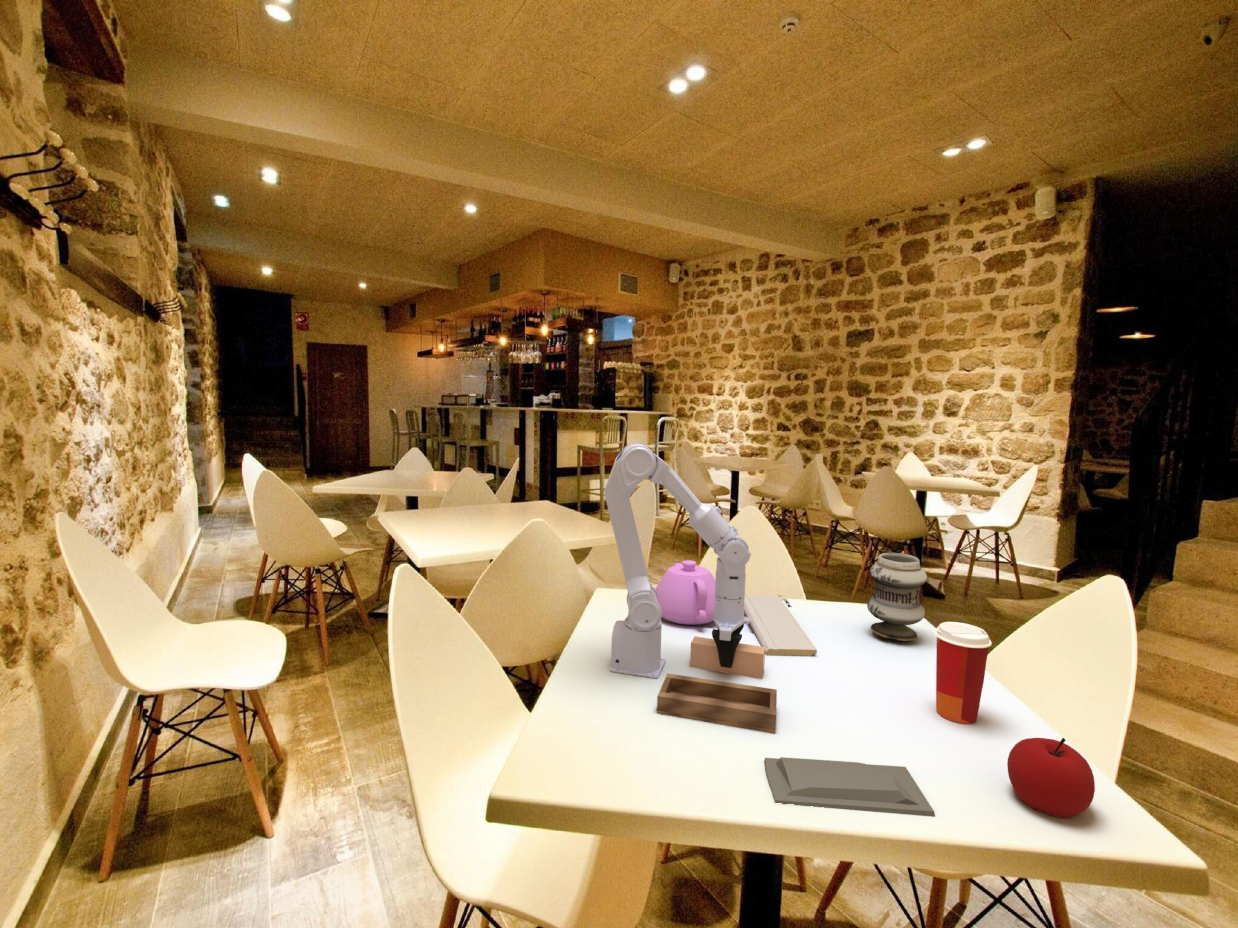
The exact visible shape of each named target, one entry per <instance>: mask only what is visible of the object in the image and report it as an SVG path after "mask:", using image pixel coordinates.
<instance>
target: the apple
mask: <svg viewBox="0 0 1238 928" xmlns="http://www.w3.org/2000/svg"><path fill="white" fill-rule="evenodd" d="M1065 742H1066V739H1065V737H1062V738H1061V739H1060V740H1057V739H1054V738H1053V739H1052V738H1045V737H1029V738H1024V739H1022V740H1020V741H1018V742H1017V743H1015V744H1014V745H1013V747H1012V749H1011V750H1010V752H1009V753H1008V758H1007V766H1006V767H1007V774H1008V778H1009V782H1010V784H1011V787H1012V788H1013V791H1014V792H1015V794H1016V795H1017V797H1019V799H1020V800H1021V801H1022V802H1023V803H1024V804H1026V805H1027V806H1028V807H1029V808H1031V809H1033V810H1035V811H1036V812H1040V813H1042V814H1046V815H1049V816H1051V817H1056V818H1060V819H1071V818H1074V817H1076V816H1077V815H1080V814H1082V813H1084V812H1086V810H1087V809H1089V808H1090V806H1091V804H1092V802H1093V799H1094V797H1095V791H1096V786H1095V783H1096V782H1095V776H1094V773H1093V769H1092V768H1091V766H1090V764H1089V762H1088V761H1087V759H1086V758H1085V757H1084V756H1082V754H1081V753H1080V752H1079V751H1077V750H1076V749H1075V748H1073V747H1072V746H1070V745H1068V744H1067V743H1065Z"/></svg>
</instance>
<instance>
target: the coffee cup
mask: <svg viewBox="0 0 1238 928" xmlns="http://www.w3.org/2000/svg"><path fill="white" fill-rule="evenodd" d="M933 635H934V636H935V638H936V665H935V666H936V671H935V673H936V674H935V675H936V676H935V677H936V679H935V685H936V686H935V708H936V712H937V714H938V715H939V716H941V717H942V718H944V719H946V721H947V720H948V721H950V722H953V723H956V724H962V725H972V724H975V723H976V722H977V719H978V716H979V710H980V705H981V704H980V703H981V697H982V692H983V688H984V687H983V686H984V682H985V674H986V669H987V667H986V666H987V661H988V654H989V648H990V647H991V646H992V644H993V643H992V641H991V639H990V636H989V634H988V632H986V631H985V629H983V628H981V627H978V626H976V625H972V624H969V623H965V622H959V621H944V622H941V623H939V625H938V626H937V627H936V629H935V631H934V632H933Z"/></svg>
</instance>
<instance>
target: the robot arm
mask: <svg viewBox="0 0 1238 928" xmlns="http://www.w3.org/2000/svg"><path fill="white" fill-rule="evenodd" d="M646 479H648V481H649V482H651V483H653V484H657V485H661V486H663V487H664V488H665V489H666V490H667V491H668V493H670V495H671V496H673V498H674V499H675V500H676V501H677V502H678V503H679V504H680V505H681V507H683V509H685V510H686V512H687V513H688V515H689V517H688V518H689V519H688V524H689V526H691V528H692V529H693V530H694V531H695V532H696V533H697V535H699V536H700V538H701V539H702V540H703V541H704V542H705V544H706V545H708V547H709V548H710V549H713V552H714V554H715V555H717V556H718V557H717V558H716V569H715V580H716V581H715V606H714V615H713V621H712V622H713V623H714V624H715V626H716V629H714V628H713V629H712V631H711V636H712V639H714V641H715V643H716V646H717V650H718V656H719V662H720V666H721V667H727V668H731V667H732V664H733V660H734V655H735V651H736V648H737V645H738V644H739V643H741V640H742V638H743V634H741V632H742V631H743V629H744V627H745V625H749V624H750V618H749V617H747V616H745V613H744V601H745V595H746V580H747V579H746V576H747V575H746V565H747V563H749V561H750V558H751V557H752V556H751V555H752V553H751V552H750V550H749V546H748V543H747V542H746V541H745V540H744V539H743V538H742V537H741V536H740V535H739V532H738V529H737V527H735V525H733V526H732V525H730V524H729V522H728V521H727V520H726V519H725V518H724V516H723V515H722V512H723V510H721V508H720V507H719V506H714V505H713V504H712V503H705V502H704V503H703V502H701V501H700V500H699V499H698V497H697V496H696V495H695V494H694V492H693V491H691V489H690V488H689V486H687V484H686V483H685V482H684V481H683V480H682V478H681V477H680V476H679V474H678V473H677V472H676V471H675V470H674V469H673V468H672V467H671V465H669V464H668V463H667V462H666V461H664V460H663V459H662V458H660V457H659V456H658V455H657V454H656V453H654V452H653V451H652V450H651V449H650V448H649V446H647V445H646V444H644V443H642V442H638V441H637V442H636V441H635V442H631V443H628V444H627V445H625V446H624V447H623V449H622V450H621V451H620V452H619V453H618V455H617V456H616V457H615V459H614V463H613V465H612V468H611V471H610V473H609V476H608V479H607V482H606V484H605V487H604V498H605V501H606V506H607V510H608V513H609V519H610V522H611V526H612V530H613V534H614V539H615V543H616V546H617V551H618V554H619V560H620V564H621V567H622V572H623V574H624V575H623V576H624V579H625V585H626V589H627V594H626V603H627V606H628V608H627V609H628V613H627V616H626V617H625V619H624V620H623V619H622V620H620V619H619V620H616V621H615V622H614V626H613V628H612V634H611V651H610V652H611V653H610V654H611V655H610V657H611V658H610V659H611V662H610V668H609V671H610V672H611V673H617V674H623V675H625V674H626V675H631V676H637V677H643V678H649V679H659V677H660V674H661V672H662V671H663V668H664V666H665V664H666V659H665V658H662V657H661V655H662V630H663V629H662V624H663V623H662V618H663V617H662V610H661V607H660V605H659V602H658V596H657V593H656V591H655V590H656V588H654V586H652V583H651V582H650V580H649V575H648V570H647V567H646V563H645V558H644V554H643V549H642V546H641V541H640V535H639V532H638V528H637V524H636V520H635V517H634V516H635V515H634V511H633V508H632V503H631V500H630V497H631V495H632V494H633V493H634V491H635V490H636V488H637V487H638V486H639V484H641V483H642V482H643V481H645V480H646Z"/></svg>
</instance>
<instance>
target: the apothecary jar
mask: <svg viewBox="0 0 1238 928" xmlns="http://www.w3.org/2000/svg"><path fill="white" fill-rule="evenodd" d="M920 563H921V562H920V559H919V558H918V557H916V556H913V555H911V554H906V553H900V552H899V553H898V552H884V553H881V554H879V556H878V559H877V561H876V562H875V563H873V564H872V565H871V567H870V569H869V573H870V575H871V576H870V577H872V578H873V579H874V589H873V596H871V597H870V598H869V599H868V600H867V604H866V607H867V609H868V612H869V613H870V614H871V615H872V616H873V617H874V618H876V619H878V620H880V621H878V622H875V623H872V624H871V625H870V630H871V631H872V632H873V633H874V634H876V635H877V636H880V637H882V638H886V639H893V640H894V639H895V640H896V641H903V642H904V641H905V642H909V641H914V640H916V639H917V638H918V633H917V632H916V631H915V630H914V629H912V628H911V627H909V626H912V625H915V624H917V623H919V622H921V621H922V620H923V619H924V618H925V615H926V611H925V608H924V606H923V605H922V604H921V603H920V601H921V600H920V599H921V598H920V597H921V594H920V593H921V586H922V585H925V583H927V580H928V575H927V573H926V571H925V570H924V569H923V568H922V567H921V565H920Z"/></svg>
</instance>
